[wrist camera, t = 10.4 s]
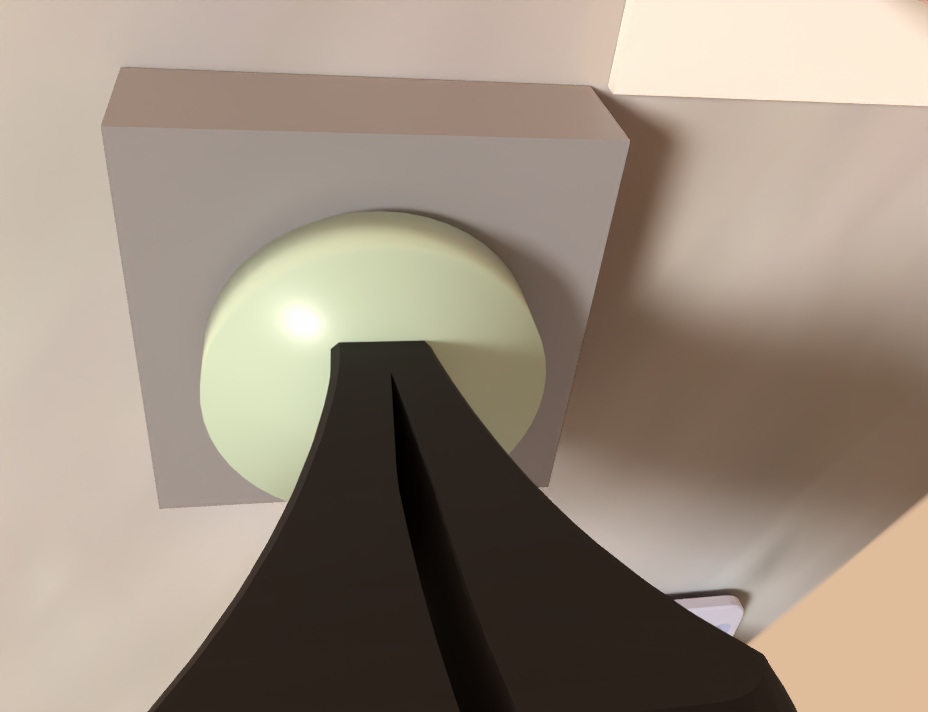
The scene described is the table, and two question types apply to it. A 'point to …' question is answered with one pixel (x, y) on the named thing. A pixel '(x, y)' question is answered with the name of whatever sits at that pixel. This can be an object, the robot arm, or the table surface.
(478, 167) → the button housing
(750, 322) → the table surface
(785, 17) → the cream rectangular plate
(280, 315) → the button
